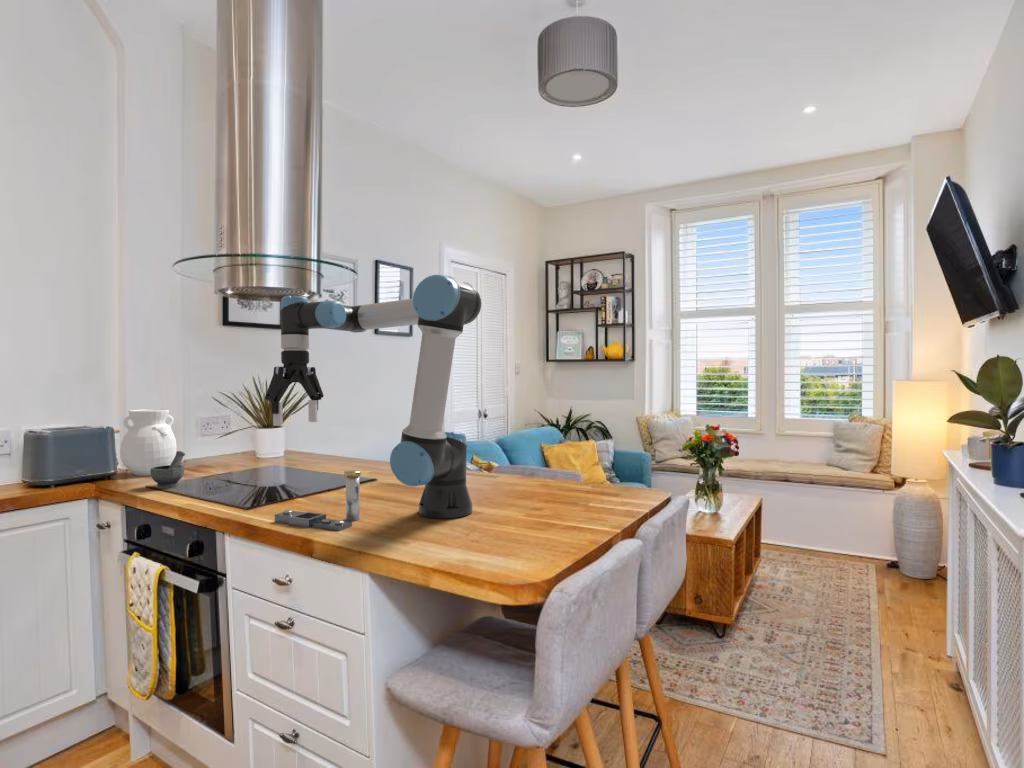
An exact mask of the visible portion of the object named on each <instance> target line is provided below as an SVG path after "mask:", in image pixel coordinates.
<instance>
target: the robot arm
mask: <svg viewBox="0 0 1024 768" xmlns="http://www.w3.org/2000/svg"><path fill="white" fill-rule="evenodd" d="M279 309H280V310H279V313H280V314H279V315H280V348H281V349H282V351H280V355H281V356H280V360H281V361H280V362H281V364H283V366H274V368H273V375H272V378H271V380H270V383H269V385H268V388H267V390H266V393H265V396H264V400H266V401H268V402H269V403H271V414H272V416H273V418H272V419H273V420H272V421H273V423H272V424H273V426H275V427H276V426H277V427H282V426H284V424H283V423H284V420H283V417H284V416H283V415H284V414H283V402H282V401H281V400H282V398H283V396H284V395H285V393H286V391H288V389H289V387H290V385H292V384H293V383H299V384H300V385H301V387H302V388H303V390H304V391H305V393H306V394H307V396H308V397H309V399H310V400H308V402H307V403H308V405H307V406H308V422H309V423H318V420H319V419H318V411H319V401H321V400H322V398H324V396H325V395H324V392H323V390H322V387H321V385H320V381H319V379H318V375H317V372H316V367H314V366H312V367H310V366H308V364H309V363H310V353H309V351H308V350H309V349H310V339H309V337H310V334H309V332H310V330H313V329H314V330H316V329H319V330H320V329H325V330H334V331H342V332H343V331H344V332H350V333H354V334H355V333H364V332H366V331H367V330H376V329H385V328H386V329H387V328H397V327H405V326H407V327H408V326H416V325H417V327H418V328H419V330H420V332H421V342H420V346H419V347H420V348H419V353H418V360H417V361H418V363H417V367H416V374H415V383H414V389H413V390H414V391H413V396H412V403H411V411H410V417H409V424H408V425H407V426H405V427H404V428H403V429H402V431H401V439H400V442H399V443H398V444H397V445H395V446H394V447H393V449H392V450H391V452H390V457H389V465H390V469H391V472H392V473H393V475H394V476H395V477H396V479H397V480H398V481H399V482H400V483H402V484H403V485H406V486H409V487H419V486H424V488H423V491H422V495H421V498H420V499H419V502H418V503H419V504H418V514H419V515H420V516H422V517H425V518H432V519H455V518H457V519H458V518H462V517H466V516H468V515H471V514H472V513H473V502H472V499H471V496H470V492H469V489H468V487H467V447H468V443H467V436H466V435H465V433H463V432H458V431H455V432H454V431H444V429H443V426H444V419H445V418H444V417H445V412H446V404H447V399H448V397H447V396H448V392H449V386H450V385H449V384H450V378H451V371H452V366H453V358H454V351H455V344H456V339H457V338H458V337H459V336H460V335H462V334H463V331H464V325H469V324H470V323H472V322H473V321H475V320H476V318H478V316H479V314H480V312H481V310H482V299H481V295H480V293H479V291H478V290H477V289H476V288H475V287H474V286H473V285H472V284H470V283H469V282H465V281H462V280H459V279H456V278H454V277H452V276H448V275H443V274H431V275H428V276H426V277H425V278H424V279H423V280H421V281H420V282H419V283H418V284H417V286H416V287H415V290H414V292H413V296H412V298H407V299H406V298H405V299H400V300H391V301H385V302H384V301H382V302H374V303H369V304H368V303H367V304H360V305H354V306H353V305H352V306H351V305H344V304H342V303H341V302H340V301H338V300H323V301H312V302H309V299H308V297H307V296H304V295H303V296H302V295H284V296H283V297H282V298H281V299H280V307H279Z"/></svg>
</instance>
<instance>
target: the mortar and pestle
mask: <svg viewBox="0 0 1024 768" xmlns="http://www.w3.org/2000/svg"><path fill="white" fill-rule="evenodd" d="M184 456H186V453H185V452H184V451H181V450H176V455H175V458H174V459H173V461H172V463H171V465H167V466H158V467H153V468H151V476H150V477H151V479H153V481H154V482H155V483H156V484H157V485H156V489H158V490H167V489H168V490H169V489H170V490H171V489H175V488H178V487H179V483H178V482H179V481H180V480H181V479H182V478H183V475H184V473H185V466H184V465H181V463H182V461H183V458H184Z"/></svg>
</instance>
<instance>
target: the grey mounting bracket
mask: <svg viewBox="0 0 1024 768" xmlns="http://www.w3.org/2000/svg"><path fill="white" fill-rule="evenodd" d="M274 523H281V524H286V525H289V526H295V527H300V528H315V529H322V530H329V531H330V530H331V531H337V532H340V531H342V530H343V531H344V530H346V529H348V528H350V527H352V526H353V521H346V520H343V519H341V520H340V519H331V518H327V514H326V513H319V512H311V511H299V510H298V511H297V510H292V509H287V510H286V509H285V510H283V511H281V512H279V513H275V514H274Z"/></svg>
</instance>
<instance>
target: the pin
mask: <svg viewBox="0 0 1024 768" xmlns="http://www.w3.org/2000/svg"><path fill="white" fill-rule="evenodd" d="M343 473H344V474H343V475H344V477H345V521H347V522H356V521H360V519H361V518H360V516H361V515H360V511H361V510H360V507H361V506H360V505H361V504H360V503H361V502H360V497H361V496H360V494H361V493H360V492H361V491H360V478H361V475H362V470H358V469H349V470H348V469H347V470H345V471H343Z"/></svg>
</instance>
